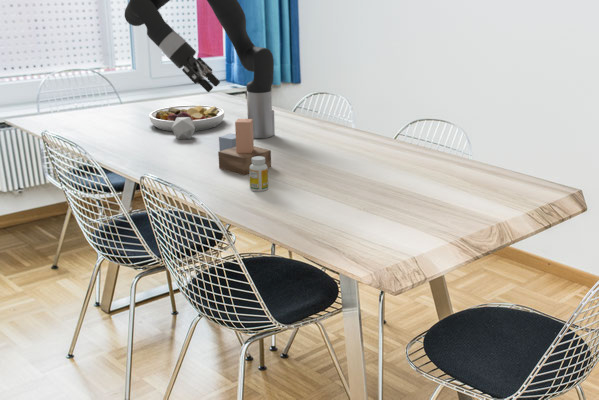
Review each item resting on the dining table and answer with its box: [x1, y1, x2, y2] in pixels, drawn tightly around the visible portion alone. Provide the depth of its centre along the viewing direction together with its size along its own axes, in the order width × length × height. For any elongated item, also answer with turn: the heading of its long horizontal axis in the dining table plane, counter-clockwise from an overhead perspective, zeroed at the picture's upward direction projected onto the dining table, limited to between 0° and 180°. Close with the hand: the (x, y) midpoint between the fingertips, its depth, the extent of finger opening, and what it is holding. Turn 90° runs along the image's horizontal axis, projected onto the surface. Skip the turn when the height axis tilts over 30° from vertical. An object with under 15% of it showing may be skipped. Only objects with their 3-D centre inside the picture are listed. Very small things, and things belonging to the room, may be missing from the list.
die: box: [172, 117, 196, 140], centre depth 268 cm, size 8×9×10 cm
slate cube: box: [218, 132, 236, 151], centre depth 248 cm, size 6×6×6 cm
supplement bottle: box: [249, 156, 269, 193], centre depth 210 cm, size 5×5×10 cm
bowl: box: [148, 104, 225, 132], centre depth 289 cm, size 30×30×8 cm
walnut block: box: [217, 145, 272, 176], centre depth 231 cm, size 12×12×6 cm
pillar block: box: [234, 118, 255, 153], centre depth 228 cm, size 5×5×10 cm
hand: (214, 87), depth 223 cm, fingers open, 8 cm apart
